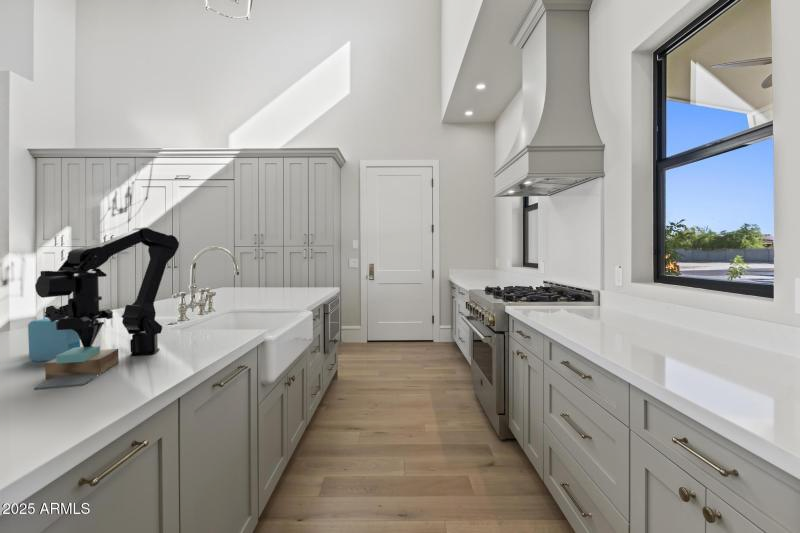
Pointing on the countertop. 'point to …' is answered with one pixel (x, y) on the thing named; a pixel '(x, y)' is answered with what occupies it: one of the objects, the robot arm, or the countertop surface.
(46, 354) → the data package
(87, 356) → the teal flat block
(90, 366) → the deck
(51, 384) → the mat
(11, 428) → the countertop surface
